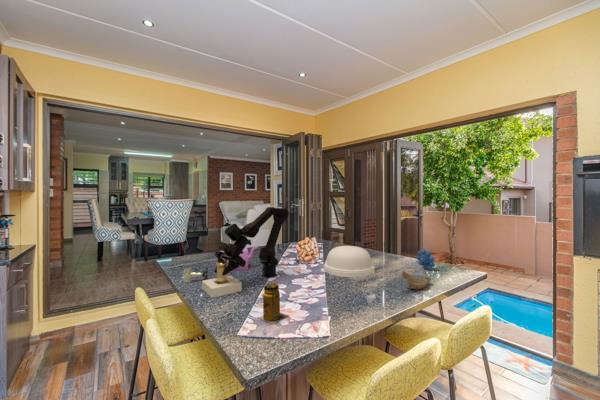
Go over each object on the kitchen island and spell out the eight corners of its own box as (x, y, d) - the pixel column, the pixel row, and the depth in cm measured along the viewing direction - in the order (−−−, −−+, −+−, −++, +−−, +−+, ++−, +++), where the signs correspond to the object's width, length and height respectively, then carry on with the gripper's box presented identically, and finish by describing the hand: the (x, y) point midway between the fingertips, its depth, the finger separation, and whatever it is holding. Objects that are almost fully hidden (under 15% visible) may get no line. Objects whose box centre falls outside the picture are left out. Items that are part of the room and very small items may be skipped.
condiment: (258, 318, 99) (258, 285, 99) (274, 310, 106) (274, 280, 105) (272, 324, 94) (272, 290, 94) (288, 316, 101) (288, 284, 101)
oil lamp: (395, 289, 130) (396, 268, 130) (422, 281, 142) (422, 262, 142) (412, 294, 123) (412, 272, 123) (438, 286, 135) (438, 266, 135)
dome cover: (313, 272, 160) (313, 248, 160) (335, 261, 185) (335, 240, 185) (365, 281, 142) (366, 254, 142) (382, 268, 167) (383, 245, 167)
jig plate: (230, 283, 138) (230, 275, 138) (241, 291, 127) (241, 282, 127) (201, 289, 130) (201, 280, 130) (211, 297, 119) (211, 288, 118)
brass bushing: (227, 287, 132) (227, 260, 131) (227, 291, 126) (227, 263, 126) (215, 288, 130) (215, 261, 130) (215, 292, 125) (215, 264, 125)
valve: (182, 284, 138) (207, 281, 141) (182, 271, 137) (207, 269, 141) (184, 280, 144) (207, 278, 147) (183, 267, 144) (207, 266, 147)
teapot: (260, 269, 165) (260, 246, 165) (216, 272, 158) (216, 248, 158) (257, 263, 180) (257, 242, 180) (217, 265, 173) (217, 243, 173)
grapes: (412, 268, 168) (412, 248, 167) (419, 266, 171) (419, 247, 171) (430, 272, 158) (430, 252, 157) (436, 271, 161) (437, 250, 161)
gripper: (217, 234, 137) (197, 260, 129) (240, 238, 125) (219, 267, 117) (230, 248, 143) (212, 273, 135) (253, 253, 131) (235, 281, 123)
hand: (219, 273), depth 127 cm, fingers open, 6 cm apart
